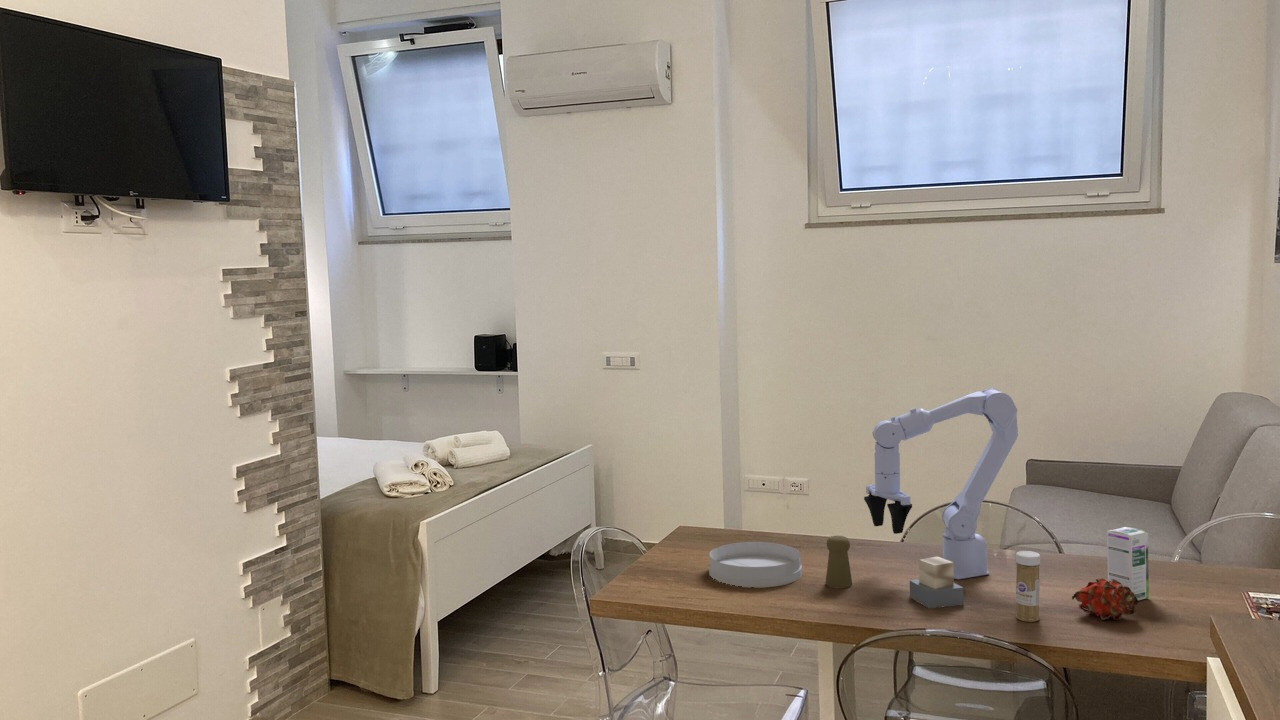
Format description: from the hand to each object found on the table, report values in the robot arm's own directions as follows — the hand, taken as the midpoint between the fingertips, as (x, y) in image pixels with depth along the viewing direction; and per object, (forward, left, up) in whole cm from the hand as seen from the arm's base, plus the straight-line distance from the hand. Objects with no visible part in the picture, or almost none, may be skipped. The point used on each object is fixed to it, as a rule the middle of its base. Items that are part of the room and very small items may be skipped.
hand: (888, 529), depth 223 cm
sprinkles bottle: (-6, +38, -11) cm, 40 cm away
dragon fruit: (-20, +44, -11) cm, 50 cm away
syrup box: (-34, +37, -11) cm, 51 cm away
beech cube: (+3, +21, -7) cm, 22 cm away
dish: (+28, -14, -11) cm, 33 cm away
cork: (+15, +2, -11) cm, 18 cm away
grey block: (+3, +21, -11) cm, 24 cm away
